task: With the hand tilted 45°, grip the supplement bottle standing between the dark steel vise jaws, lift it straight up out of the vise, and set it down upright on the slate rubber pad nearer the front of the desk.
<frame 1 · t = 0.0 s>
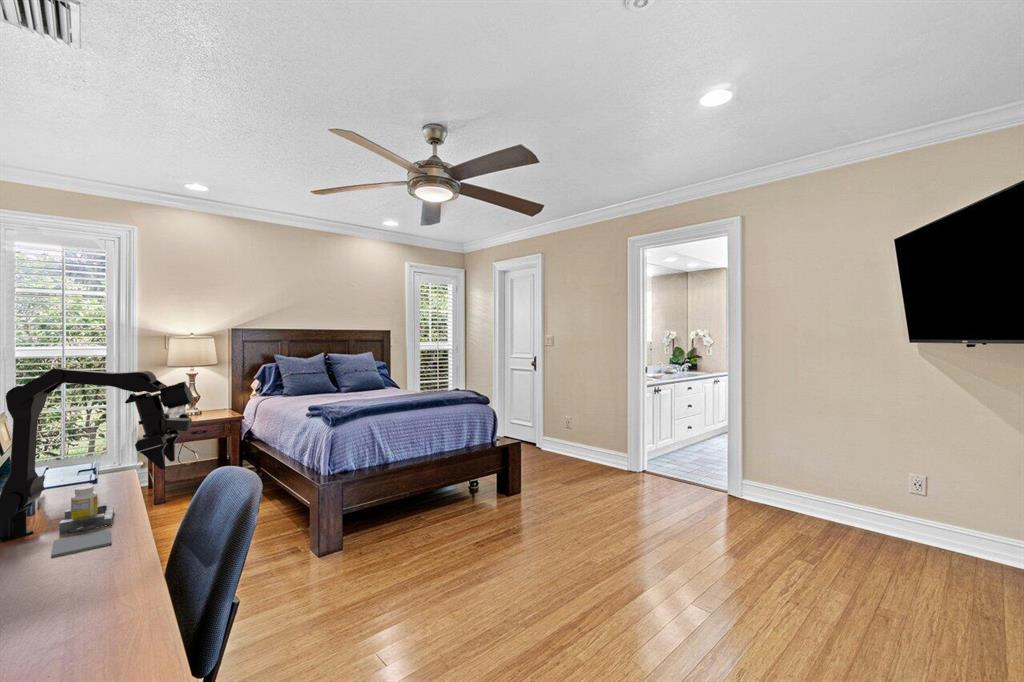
hand: (168, 465, 139), 15 cm above the table, tool pointing down, fingers open, 9 cm apart
slate pad: (82, 543, 122), on the table
supplement bottle: (84, 524, 135), resting in vise
vise: (84, 523, 135), on the table
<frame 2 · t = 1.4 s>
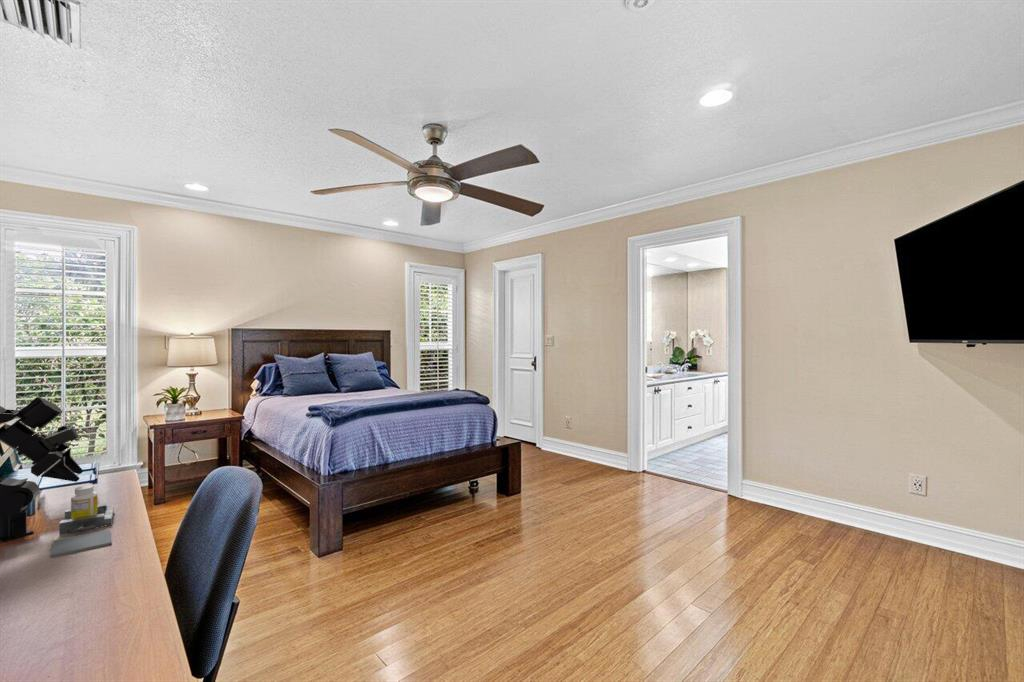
hand: (80, 476, 134), 13 cm above the table, tool tilted 45°, fingers open, 9 cm apart
nothing on the table moved.
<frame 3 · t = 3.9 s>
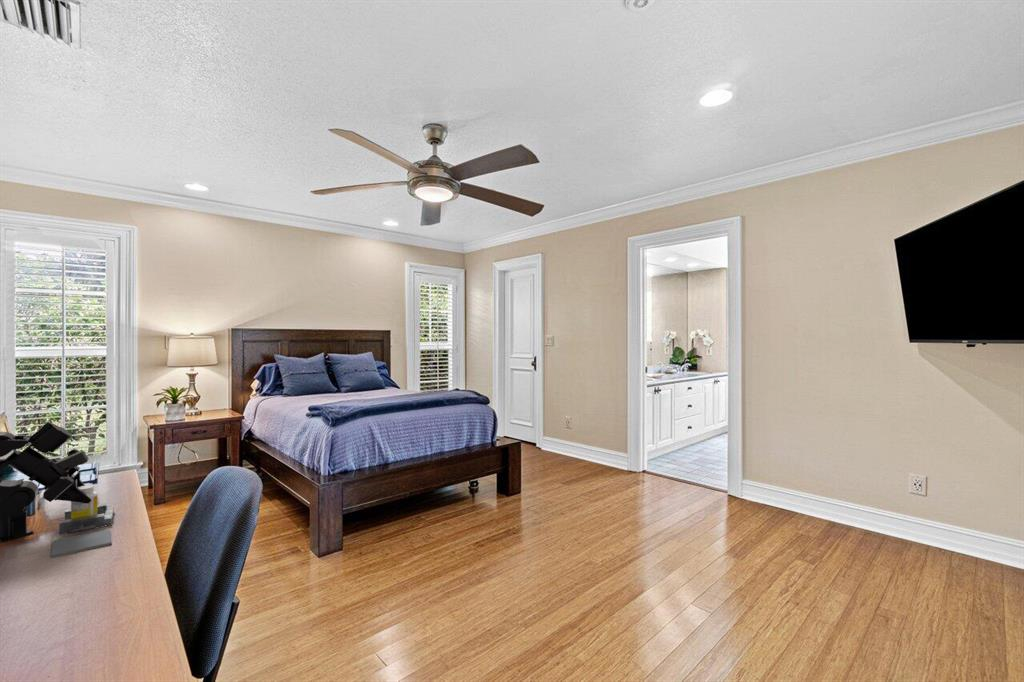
hand: (91, 498, 136), 7 cm above the table, tool tilted 45°, fingers closed on supplement bottle, 5 cm apart
supplement bottle: (84, 524, 135), resting in vise, touching gripper
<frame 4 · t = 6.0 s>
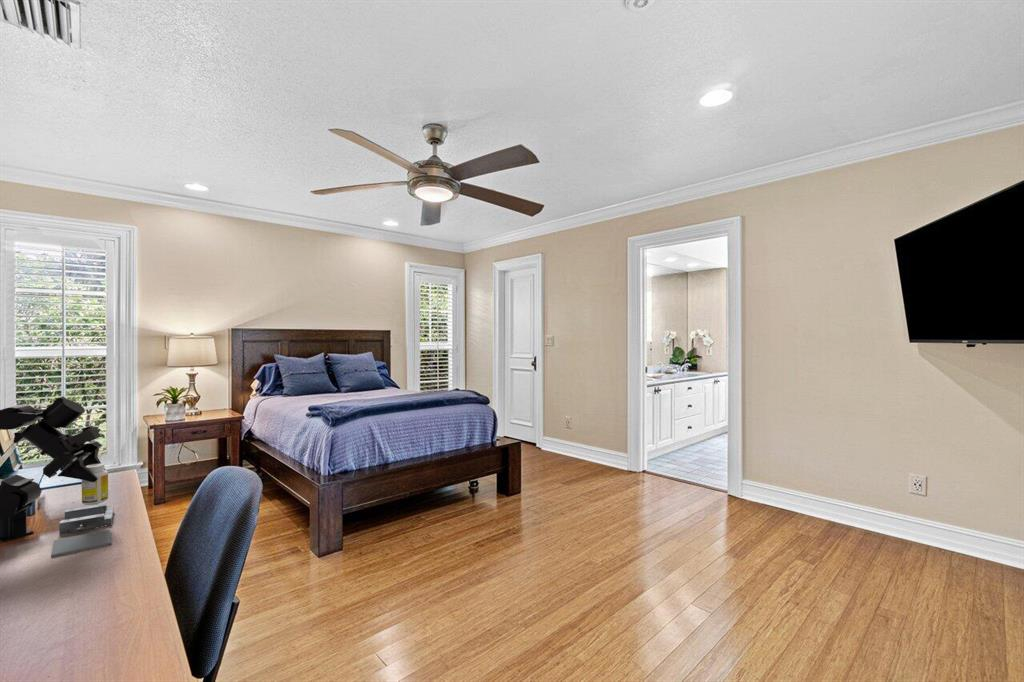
hand: (101, 477, 133), 14 cm above the table, tool tilted 45°, fingers closed on supplement bottle, 6 cm apart
supplement bottle: (95, 502, 132), point 7 cm above the table, touching gripper
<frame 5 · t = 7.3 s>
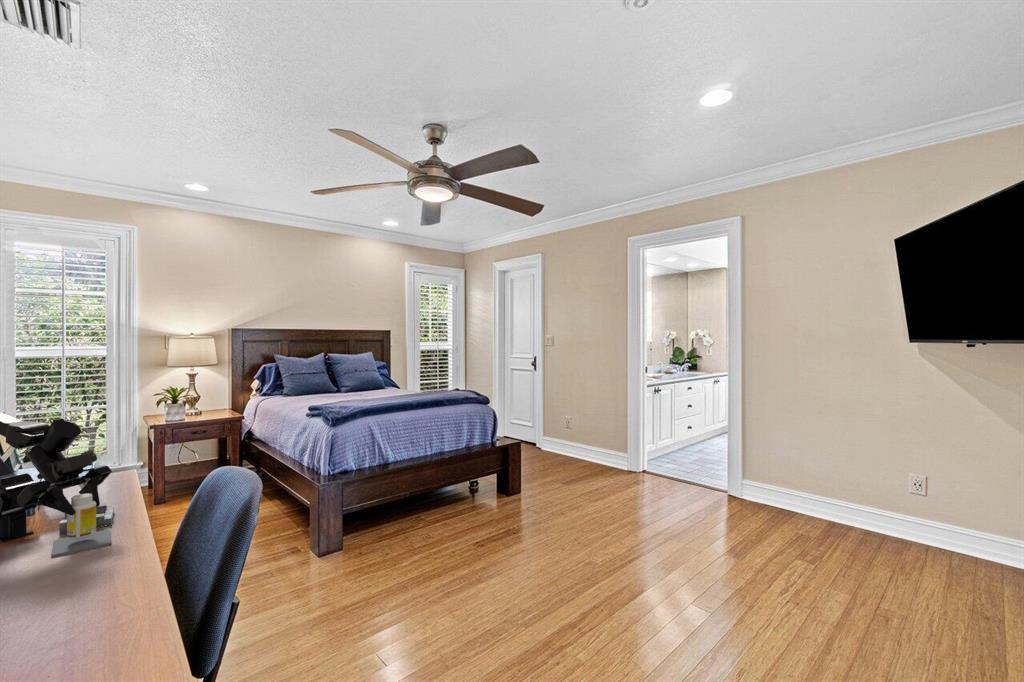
hand: (86, 509, 121), 9 cm above the table, tool tilted 45°, fingers closed on supplement bottle, 5 cm apart
supplement bottle: (81, 536, 122), point 2 cm above the table, touching gripper
when the fingers open (8 cm above the table, at t = 8.2 s): supplement bottle stays where it is, resting on slate pad.
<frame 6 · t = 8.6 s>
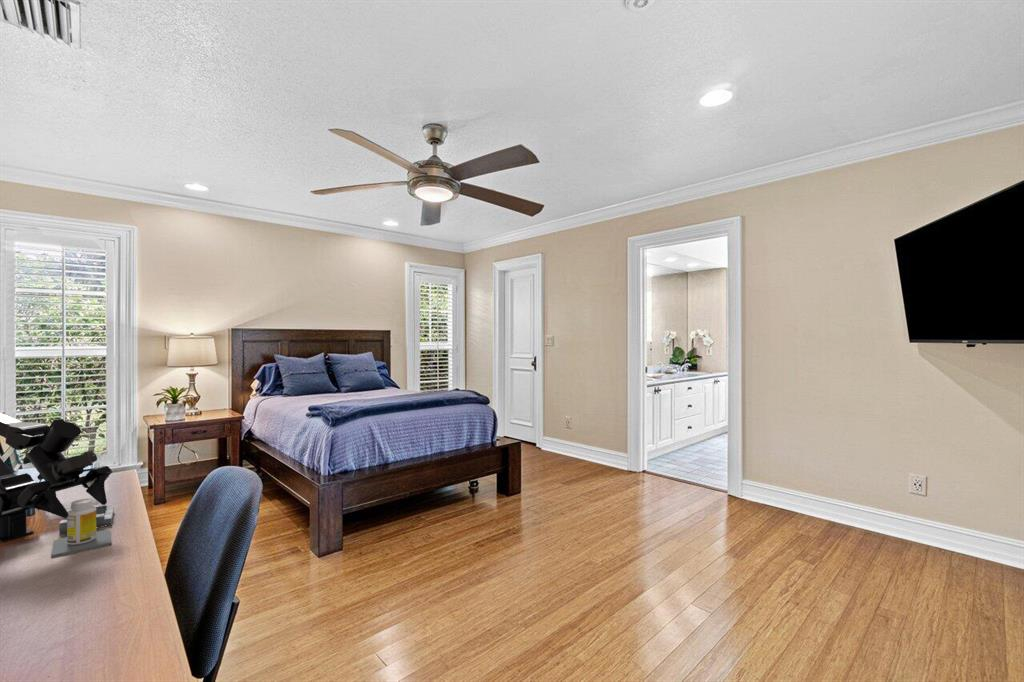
hand: (86, 510, 121), 9 cm above the table, tool tilted 45°, fingers open, 9 cm apart
supplement bottle: (81, 542, 122), resting on slate pad
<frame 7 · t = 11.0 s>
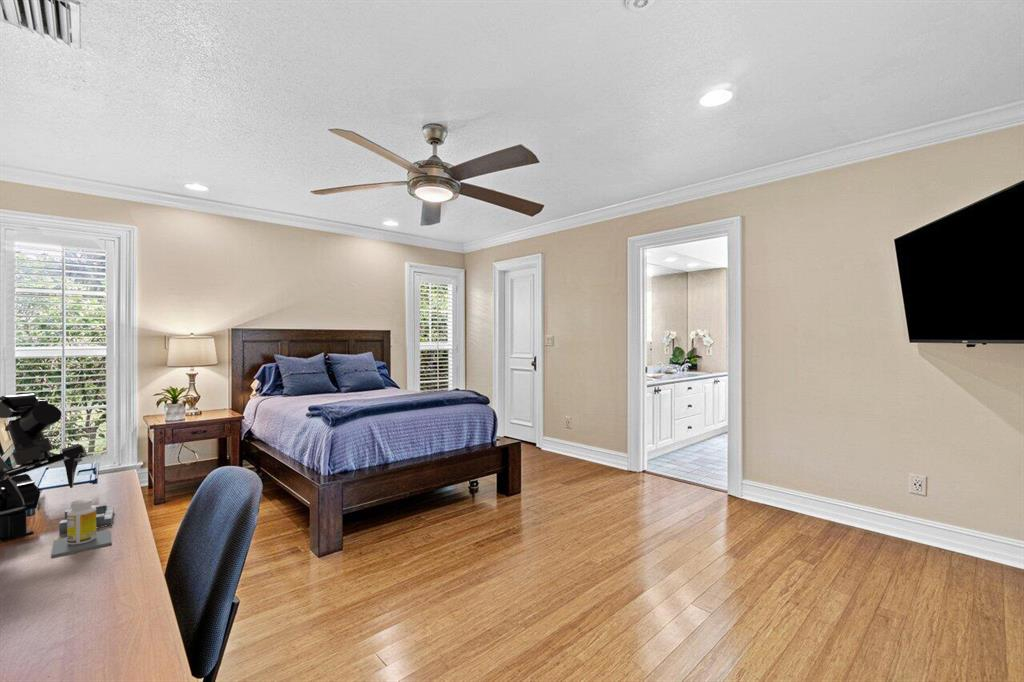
hand: (47, 496, 122), 12 cm above the table, tool tilted 25°, fingers open, 9 cm apart
nothing on the table moved.
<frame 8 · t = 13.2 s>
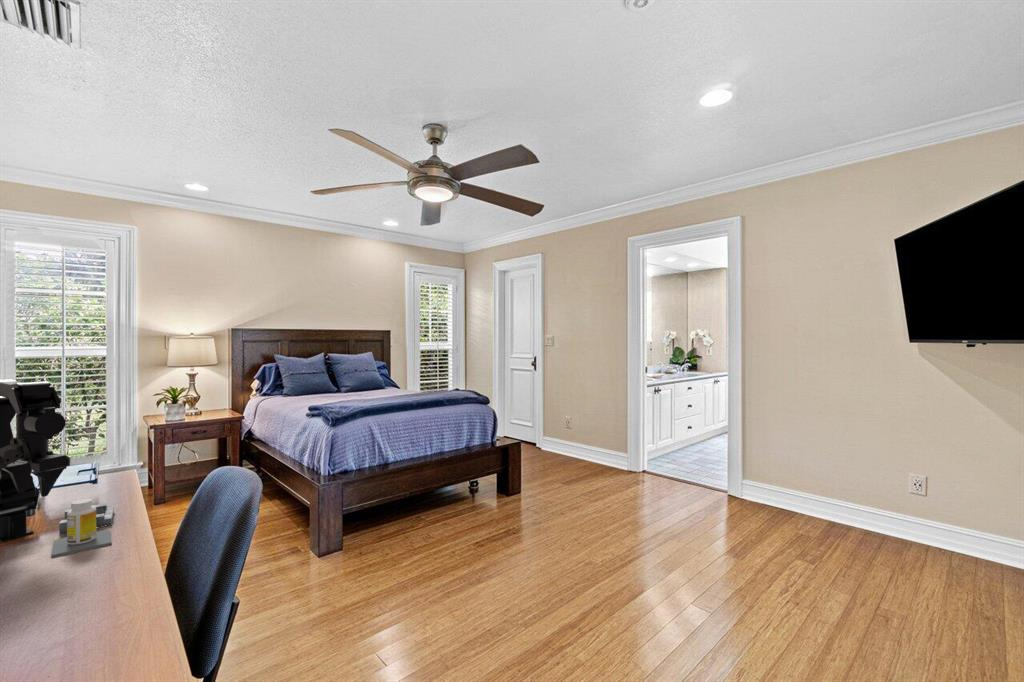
hand: (32, 494, 120), 13 cm above the table, tool pointing down, fingers open, 9 cm apart
nothing on the table moved.
at the end: supplement bottle inside the target area on the slate pad (0.1 cm from its centre), point 0.4 cm above the slate pad's base; supplement bottle tilted 0°; the gripper is holding nothing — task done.
